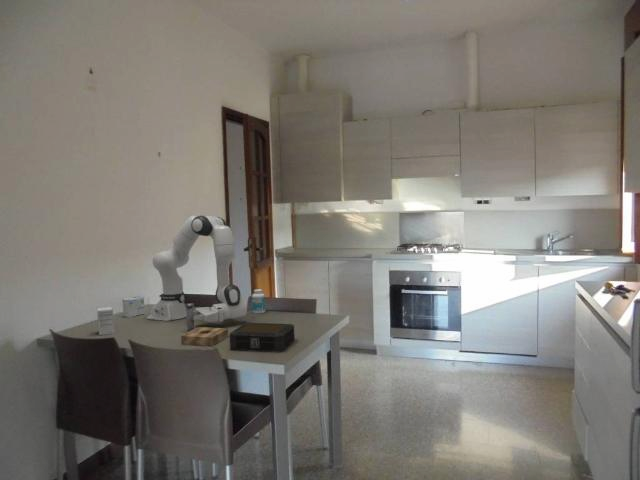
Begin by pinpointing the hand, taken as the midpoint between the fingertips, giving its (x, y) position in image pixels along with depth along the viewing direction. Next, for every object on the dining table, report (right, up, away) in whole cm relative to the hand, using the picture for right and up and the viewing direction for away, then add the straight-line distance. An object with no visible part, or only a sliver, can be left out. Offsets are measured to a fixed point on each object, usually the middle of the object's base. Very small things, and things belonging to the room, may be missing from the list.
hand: (190, 316), depth 250 cm
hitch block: (+12, -9, -17) cm, 23 cm away
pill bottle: (+30, -4, +37) cm, 48 cm away
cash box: (+40, -9, -27) cm, 49 cm away
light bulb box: (-44, -6, +40) cm, 60 cm away
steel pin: (0, -8, 0) cm, 8 cm away
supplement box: (-44, -9, +3) cm, 45 cm away
